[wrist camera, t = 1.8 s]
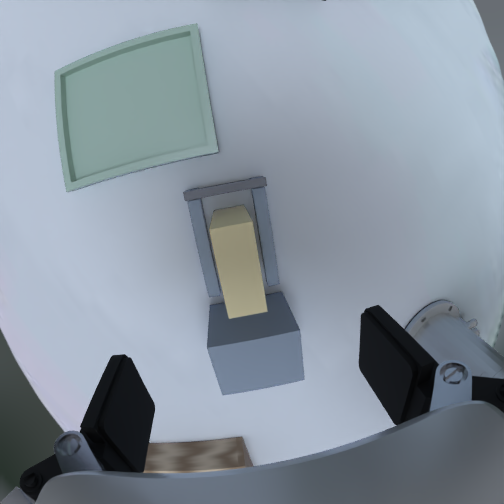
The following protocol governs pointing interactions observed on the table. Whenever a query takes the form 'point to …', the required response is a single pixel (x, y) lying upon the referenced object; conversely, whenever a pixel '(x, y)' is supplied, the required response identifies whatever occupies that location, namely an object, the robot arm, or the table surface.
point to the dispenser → (251, 326)
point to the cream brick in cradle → (237, 261)
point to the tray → (134, 107)
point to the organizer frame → (197, 456)
